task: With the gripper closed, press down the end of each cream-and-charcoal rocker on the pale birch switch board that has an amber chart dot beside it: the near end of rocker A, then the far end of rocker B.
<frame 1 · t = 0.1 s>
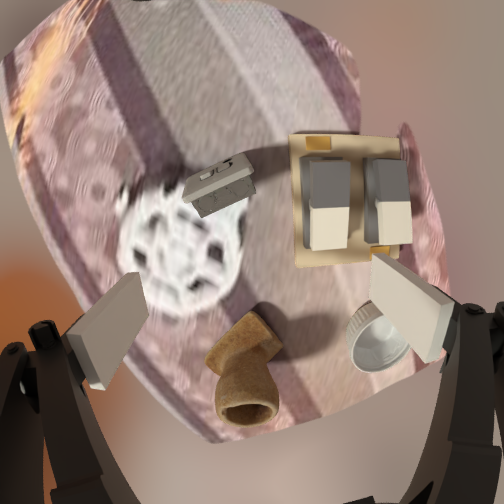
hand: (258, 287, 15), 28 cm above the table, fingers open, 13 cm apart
electrical switch: (224, 179, 40), on the table
ramekin: (370, 324, 48), on the table
rocker b: (392, 202, 35), point 6 cm above the table, hinge at -10.0°
tan piece: (247, 348, 49), on the table
switch board: (347, 198, 41), on the table
rocker a: (328, 205, 35), point 6 cm above the table, hinge at 10.0°
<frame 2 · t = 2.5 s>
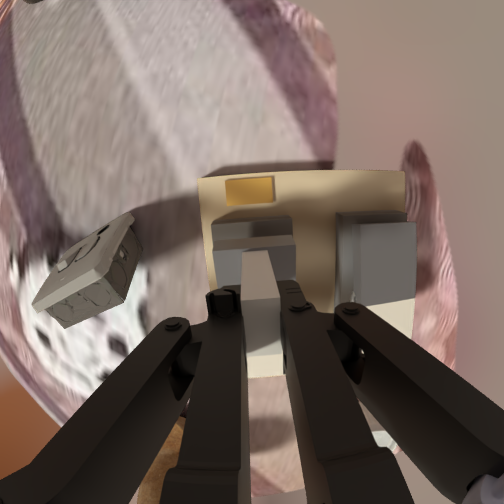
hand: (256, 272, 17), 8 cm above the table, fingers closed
electrical switch: (111, 252, 25), on the table
ramekin: (341, 422, 33), on the table
rocker b: (382, 298, 20), point 6 cm above the table, hinge at -10.0°
tan piece: (181, 441, 33), on the table
switch board: (308, 278, 26), on the table
rocker a: (258, 314, 20), point 6 cm above the table, hinge at 9.4°, touching gripper
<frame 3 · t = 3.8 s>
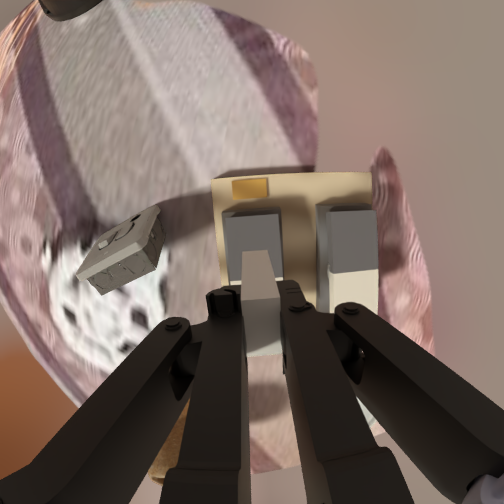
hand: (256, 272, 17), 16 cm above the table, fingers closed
electrical switch: (139, 237, 32), on the table
rocker b: (352, 269, 27), point 6 cm above the table, hinge at -10.0°
tan piece: (189, 410, 40), on the table
switch board: (296, 257, 33), on the table
rocker a: (256, 277, 27), point 6 cm above the table, hinge at -14.9°
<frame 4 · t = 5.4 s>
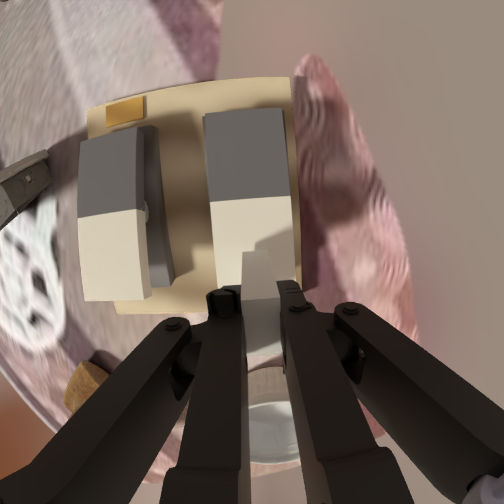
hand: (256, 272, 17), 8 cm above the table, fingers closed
electrical switch: (34, 189, 23), on the table
ramekin: (272, 394, 31), on the table
rocker b: (250, 200, 18), point 6 cm above the table, hinge at -10.0°, touching gripper
tan piece: (106, 400, 31), on the table
switch board: (192, 199, 24), on the table
rocker a: (112, 215, 18), point 6 cm above the table, hinge at -14.4°
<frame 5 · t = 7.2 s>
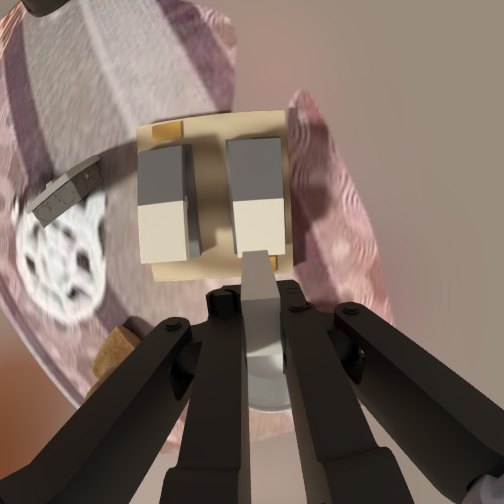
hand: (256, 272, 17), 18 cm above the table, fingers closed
electrical switch: (84, 185, 33), on the table
ramekin: (272, 352, 41), on the table
rocker b: (257, 197, 28), point 6 cm above the table, hinge at 6.5°
tan piece: (131, 364, 41), on the table
switch board: (215, 196, 34), on the table
rocker a: (163, 204, 28), point 6 cm above the table, hinge at -14.4°
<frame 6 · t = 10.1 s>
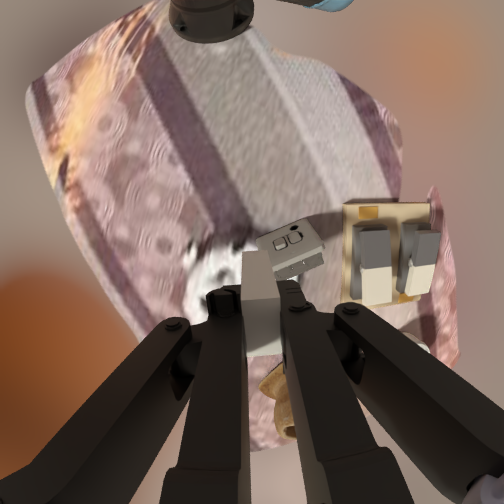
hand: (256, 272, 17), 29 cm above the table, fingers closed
electrical switch: (287, 241, 47), on the table
rocker b: (421, 262, 42), point 6 cm above the table, hinge at 7.0°
tan piece: (294, 374, 55), on the table
switch board: (385, 255, 48), on the table
rocker a: (375, 267, 42), point 6 cm above the table, hinge at -14.4°
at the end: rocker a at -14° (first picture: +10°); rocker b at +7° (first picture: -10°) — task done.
